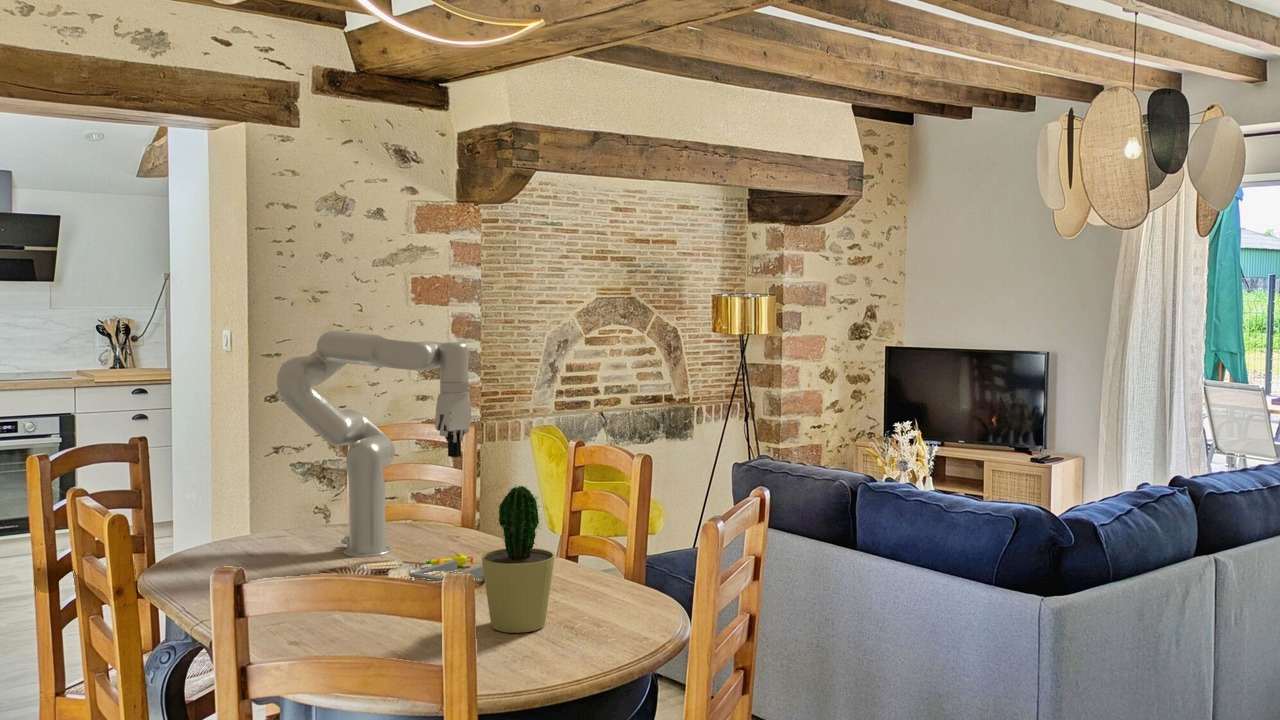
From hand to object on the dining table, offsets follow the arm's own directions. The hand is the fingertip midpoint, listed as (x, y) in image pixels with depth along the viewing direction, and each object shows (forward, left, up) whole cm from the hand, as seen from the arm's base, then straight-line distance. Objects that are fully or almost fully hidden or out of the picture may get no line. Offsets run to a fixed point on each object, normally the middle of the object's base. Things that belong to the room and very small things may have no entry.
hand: (454, 456), depth 284 cm
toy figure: (+12, -7, -25) cm, 29 cm away
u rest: (+16, -21, -27) cm, 38 cm away
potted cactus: (+52, -42, -27) cm, 72 cm away
